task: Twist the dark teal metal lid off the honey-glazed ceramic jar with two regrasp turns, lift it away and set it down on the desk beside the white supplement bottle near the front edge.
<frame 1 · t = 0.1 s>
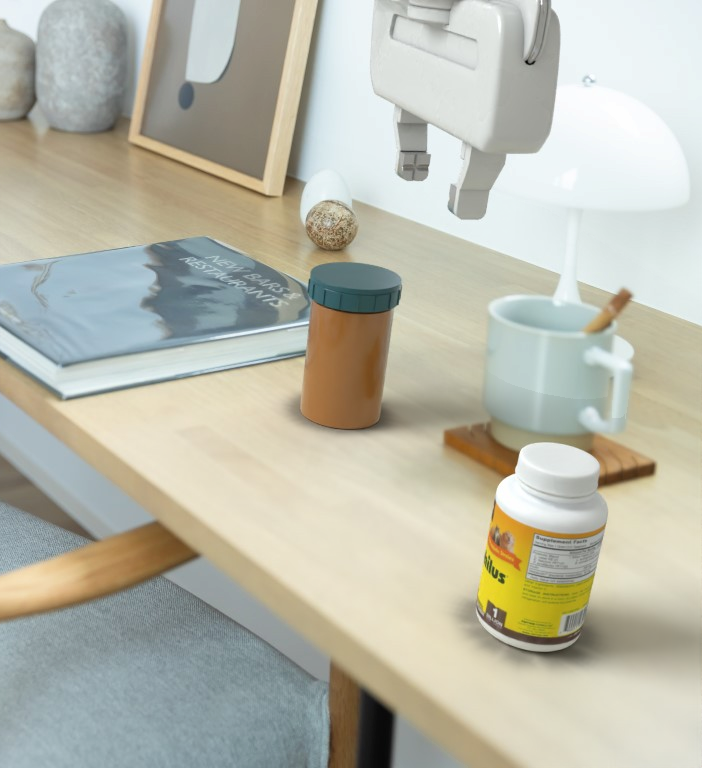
hand: (436, 196, 72), 19 cm above the table, tool pointing down, fingers open, 8 cm apart
lid: (355, 280, 85), point 10 cm above the table, screwed on, not yet turned
supplement bottle: (525, 629, 64), on the table
jar: (339, 412, 89), on the table
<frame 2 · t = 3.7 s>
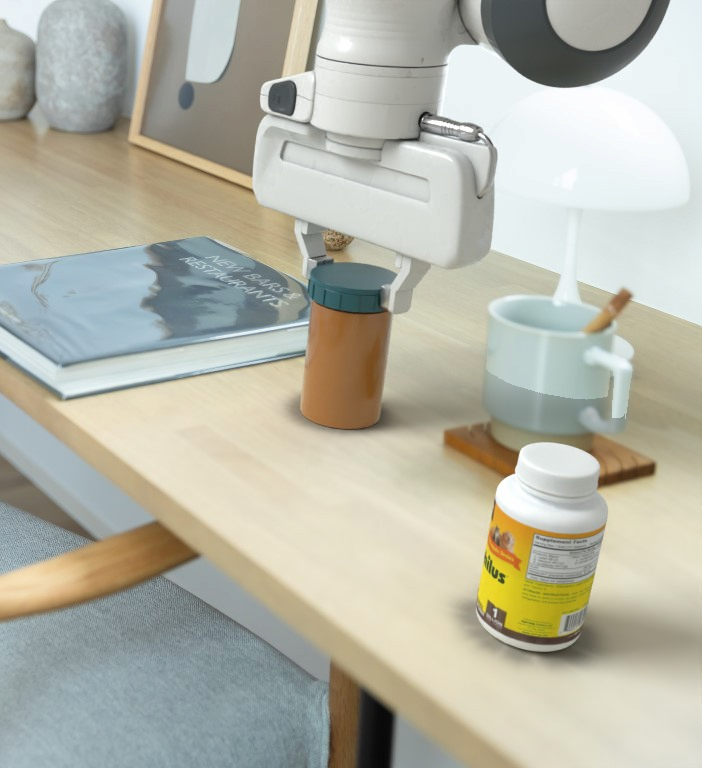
hand: (353, 294, 85), 9 cm above the table, tool pointing down, fingers closed on lid, 6 cm apart
lid: (355, 280, 85), point 10 cm above the table, screwed on, not yet turned, touching gripper
everything else where it was.
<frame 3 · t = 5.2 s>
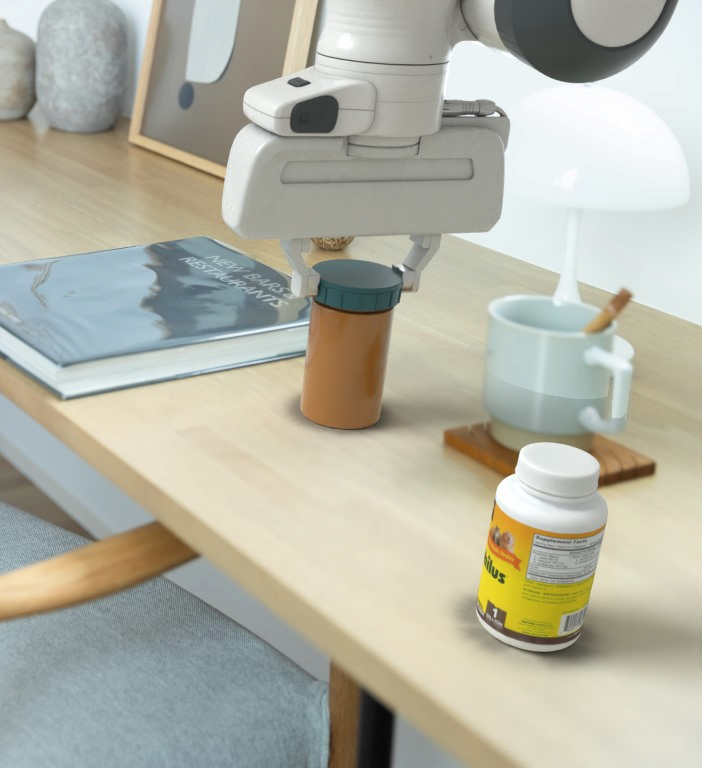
hand: (353, 293, 85), 10 cm above the table, tool pointing down, fingers closed on lid, 6 cm apart
lid: (356, 278, 84), point 11 cm above the table, turned 69° so far, risen 0.2 cm, still on its thread, touching gripper
everything else where it was.
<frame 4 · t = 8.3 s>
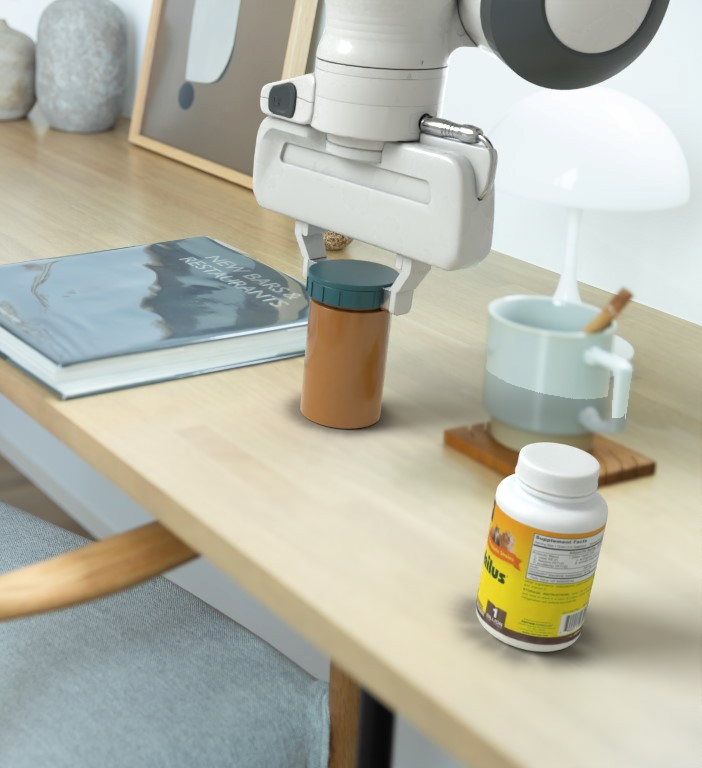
hand: (353, 296, 85), 9 cm above the table, tool pointing down, fingers closed on lid, 6 cm apart
lid: (353, 277, 85), point 11 cm above the table, turned 68° so far, risen 0.2 cm, still on its thread, touching gripper
everything else where it was.
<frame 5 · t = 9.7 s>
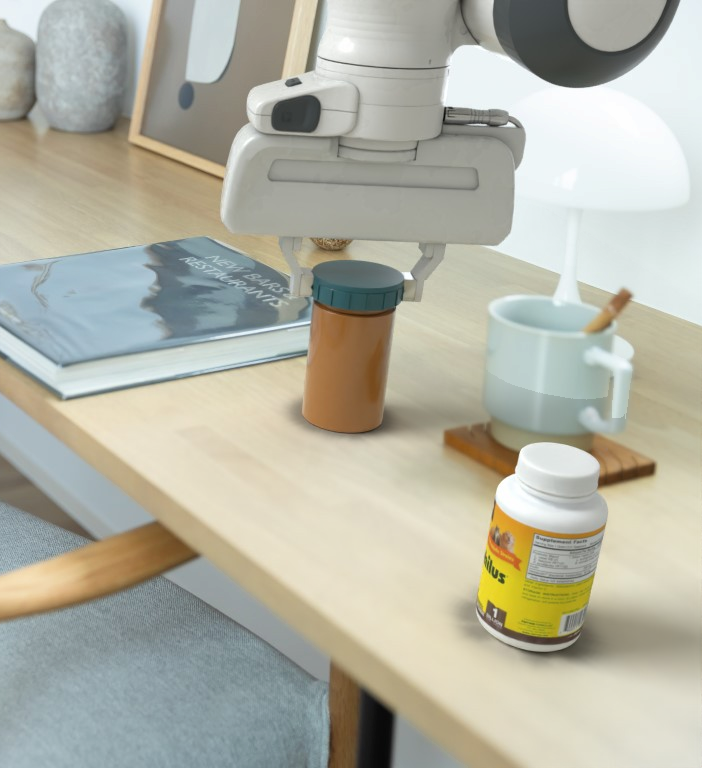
hand: (353, 297, 85), 9 cm above the table, tool pointing down, fingers closed on lid, 6 cm apart
lid: (357, 278, 84), point 11 cm above the table, turned 124° so far, risen 0.3 cm, still on its thread, touching gripper
everything else where it was.
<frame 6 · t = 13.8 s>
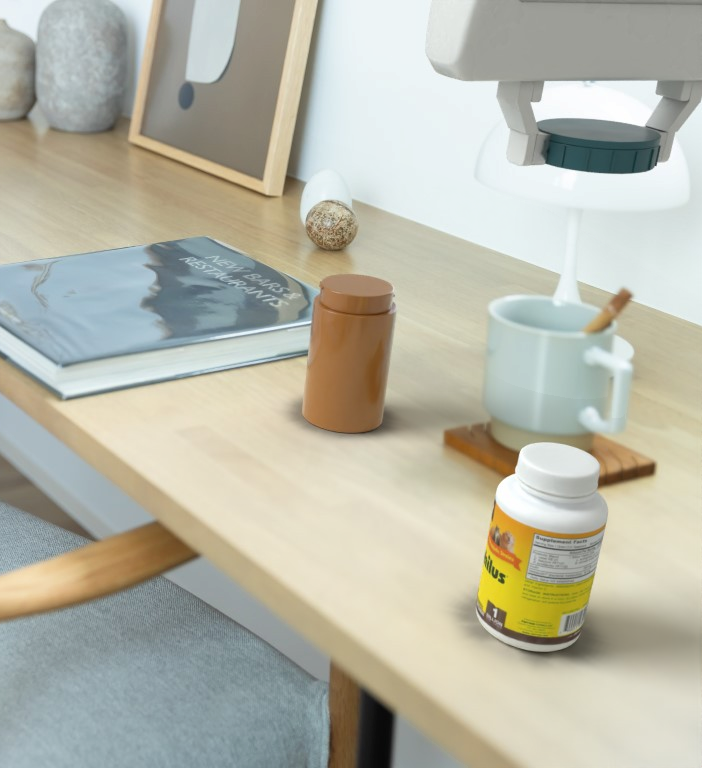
hand: (586, 162, 65), 23 cm above the table, tool pointing down, fingers closed on lid, 6 cm apart
lid: (595, 136, 64), point 24 cm above the table, off its thread, touching gripper
everything else where it was.
when the fingers open (0 cm above the table, at t = 19.5 s): lid stays where it is, point 1 cm above the table.
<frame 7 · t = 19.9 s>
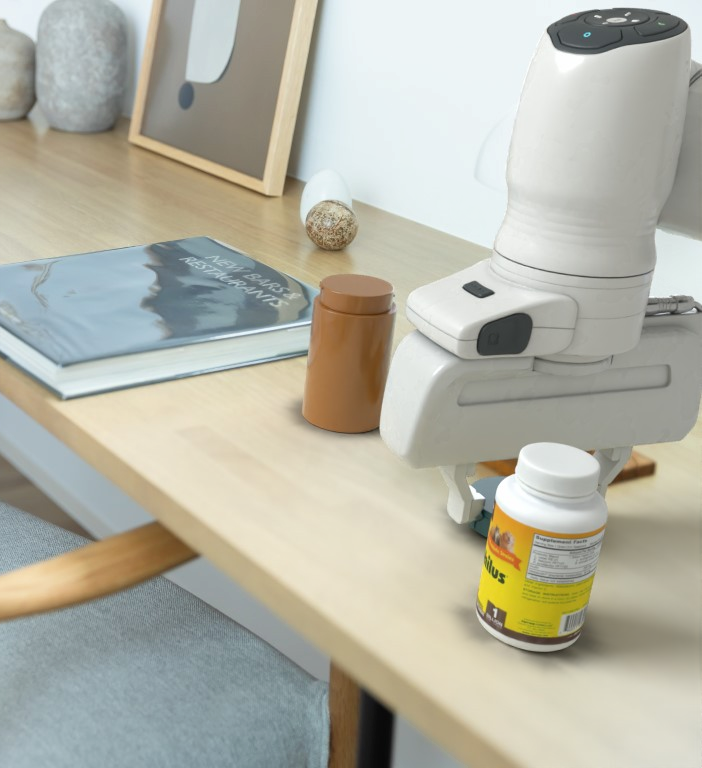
hand: (524, 511, 74), 1 cm above the table, tool pointing down, fingers open, 7 cm apart
lid: (521, 505, 73), point 1 cm above the table, off its thread, touching gripper
everything else where it was.
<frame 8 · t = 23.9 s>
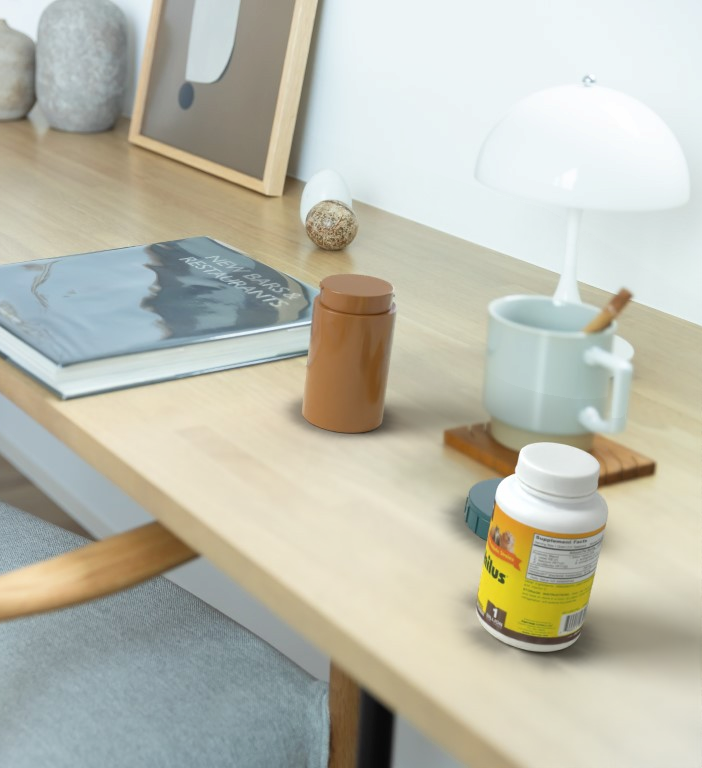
lid: (521, 507, 73), point 1 cm above the table, off its thread
everything else where it was.
at the end: lid came off its thread; lid point 1.3 cm above the table; lid 11.4 cm from the supplement bottle (horizontally) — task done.
